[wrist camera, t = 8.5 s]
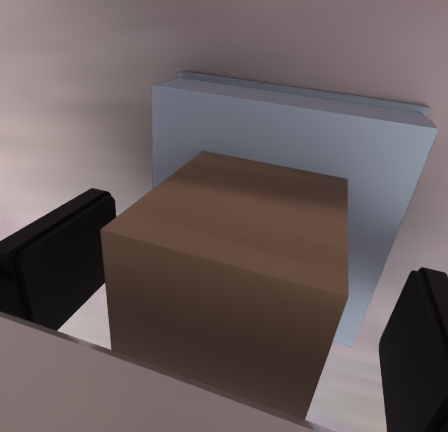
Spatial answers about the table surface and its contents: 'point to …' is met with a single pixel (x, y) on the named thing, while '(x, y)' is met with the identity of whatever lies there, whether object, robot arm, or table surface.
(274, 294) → the walnut block
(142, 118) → the table surface
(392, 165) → the base block
